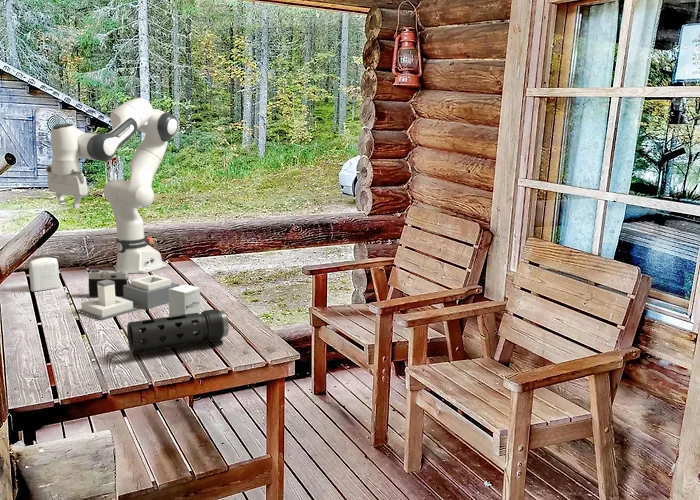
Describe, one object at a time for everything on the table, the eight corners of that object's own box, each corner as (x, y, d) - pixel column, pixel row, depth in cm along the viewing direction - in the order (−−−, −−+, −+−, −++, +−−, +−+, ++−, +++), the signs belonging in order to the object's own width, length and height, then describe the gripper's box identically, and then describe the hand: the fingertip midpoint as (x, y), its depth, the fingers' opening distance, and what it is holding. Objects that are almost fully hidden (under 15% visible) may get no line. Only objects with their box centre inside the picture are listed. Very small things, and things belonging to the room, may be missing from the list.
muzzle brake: (127, 350, 174) (126, 316, 172) (219, 335, 188) (219, 304, 186) (134, 362, 166) (132, 327, 164) (230, 345, 180) (229, 313, 178)
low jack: (113, 301, 216) (112, 293, 215) (137, 309, 208) (136, 301, 208) (77, 311, 205) (76, 303, 204) (101, 320, 197) (101, 311, 196)
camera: (133, 291, 229) (132, 266, 227) (125, 298, 220) (123, 273, 218) (97, 290, 229) (96, 265, 227) (87, 297, 220) (86, 272, 218)
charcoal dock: (155, 292, 229) (154, 272, 227) (179, 299, 221) (178, 279, 219) (123, 301, 217) (122, 280, 216) (148, 308, 210) (147, 287, 208)
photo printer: (57, 285, 233) (55, 255, 231) (61, 288, 230) (59, 257, 228) (29, 290, 226) (26, 258, 224) (32, 292, 223) (30, 261, 221)
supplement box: (184, 329, 191) (183, 292, 188) (168, 325, 195) (167, 288, 192) (201, 323, 198) (200, 287, 195) (185, 319, 201) (184, 283, 198)
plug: (109, 306, 209) (107, 279, 207) (116, 308, 207) (114, 281, 205) (98, 309, 206) (97, 281, 204) (105, 311, 204) (104, 283, 202)
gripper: (91, 170, 212) (93, 208, 215) (59, 166, 223) (62, 202, 226) (74, 171, 207) (77, 210, 210) (43, 167, 218) (46, 204, 221)
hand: (69, 206), depth 218 cm, fingers open, 8 cm apart
